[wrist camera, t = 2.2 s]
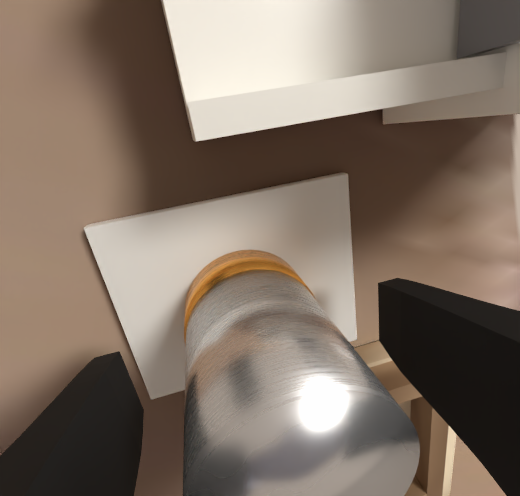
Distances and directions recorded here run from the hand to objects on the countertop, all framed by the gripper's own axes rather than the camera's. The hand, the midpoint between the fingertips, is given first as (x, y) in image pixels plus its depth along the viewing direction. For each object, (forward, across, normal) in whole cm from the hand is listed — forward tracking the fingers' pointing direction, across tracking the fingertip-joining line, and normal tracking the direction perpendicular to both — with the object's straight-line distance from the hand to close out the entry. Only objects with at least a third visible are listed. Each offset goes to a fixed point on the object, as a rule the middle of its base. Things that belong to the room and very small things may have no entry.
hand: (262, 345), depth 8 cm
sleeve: (+2, 0, 0) cm, 2 cm away
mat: (+3, 0, 0) cm, 3 cm away
